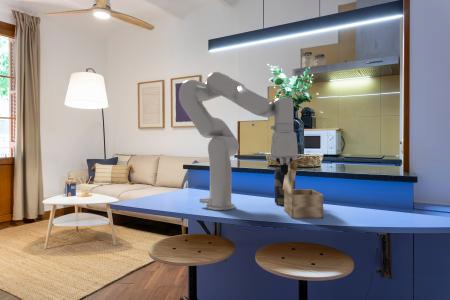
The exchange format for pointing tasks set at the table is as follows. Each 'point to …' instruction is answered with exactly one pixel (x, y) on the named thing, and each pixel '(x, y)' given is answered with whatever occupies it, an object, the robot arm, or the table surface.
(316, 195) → the brown wooden box
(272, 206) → the table surface
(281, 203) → the canister
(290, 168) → the lid
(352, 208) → the table surface
